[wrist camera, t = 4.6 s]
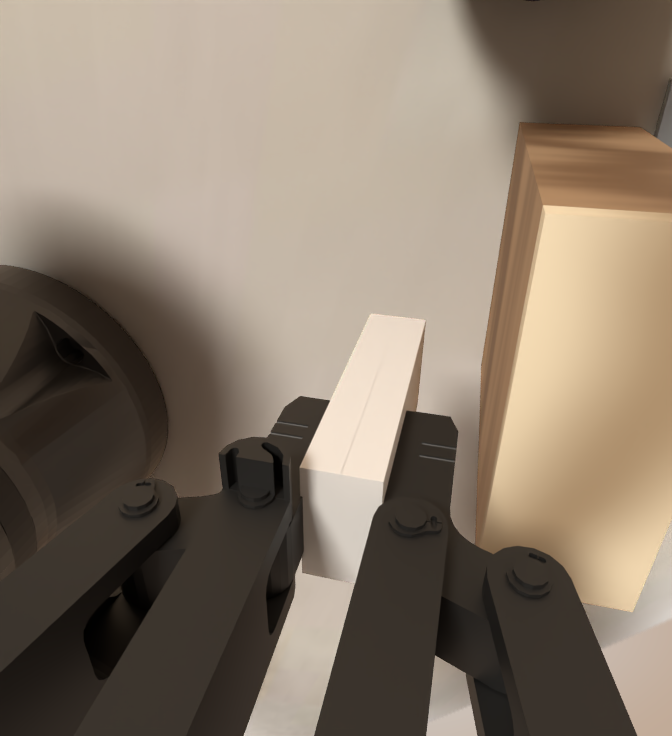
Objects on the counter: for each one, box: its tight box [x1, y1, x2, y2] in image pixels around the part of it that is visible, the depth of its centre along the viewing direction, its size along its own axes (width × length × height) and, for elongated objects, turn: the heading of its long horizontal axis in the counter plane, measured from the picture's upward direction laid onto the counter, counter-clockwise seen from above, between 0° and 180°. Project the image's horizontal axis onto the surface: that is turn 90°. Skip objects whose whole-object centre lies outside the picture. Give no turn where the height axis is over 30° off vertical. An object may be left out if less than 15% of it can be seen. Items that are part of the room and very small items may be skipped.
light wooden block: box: [475, 122, 672, 612], centre depth 18 cm, size 4×10×12 cm, turn 0°
